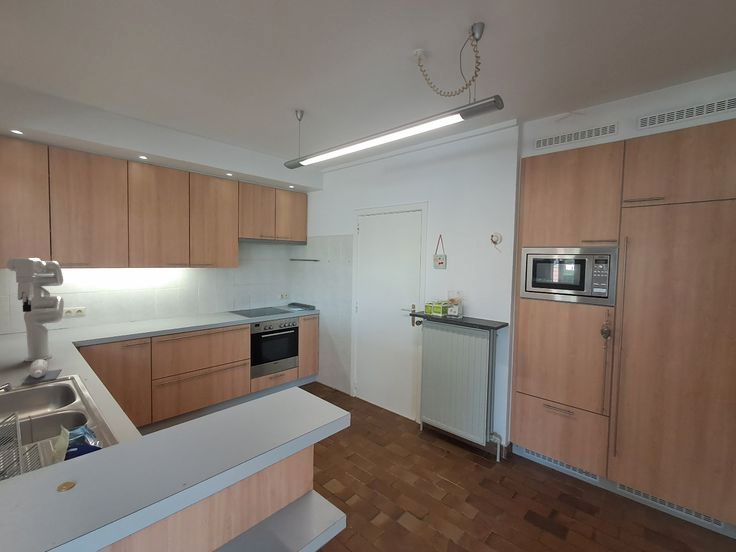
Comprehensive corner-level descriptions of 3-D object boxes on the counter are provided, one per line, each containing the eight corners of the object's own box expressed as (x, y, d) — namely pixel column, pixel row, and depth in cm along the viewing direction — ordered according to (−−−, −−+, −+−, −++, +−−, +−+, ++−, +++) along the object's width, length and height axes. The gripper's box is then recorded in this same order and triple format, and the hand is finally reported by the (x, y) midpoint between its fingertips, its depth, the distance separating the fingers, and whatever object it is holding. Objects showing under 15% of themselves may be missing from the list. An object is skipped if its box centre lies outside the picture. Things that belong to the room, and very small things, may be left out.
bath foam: (28, 371, 182) (26, 381, 168) (32, 358, 183) (30, 367, 168) (45, 371, 187) (44, 381, 172) (49, 359, 188) (49, 368, 173)
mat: (30, 374, 182) (30, 373, 182) (61, 370, 189) (61, 369, 189) (21, 384, 168) (21, 383, 168) (55, 379, 175) (55, 378, 175)
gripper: (19, 279, 194) (21, 310, 195) (12, 280, 182) (14, 314, 183) (37, 278, 199) (39, 309, 200) (31, 280, 186) (33, 312, 187)
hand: (27, 311), depth 191 cm, fingers closed
